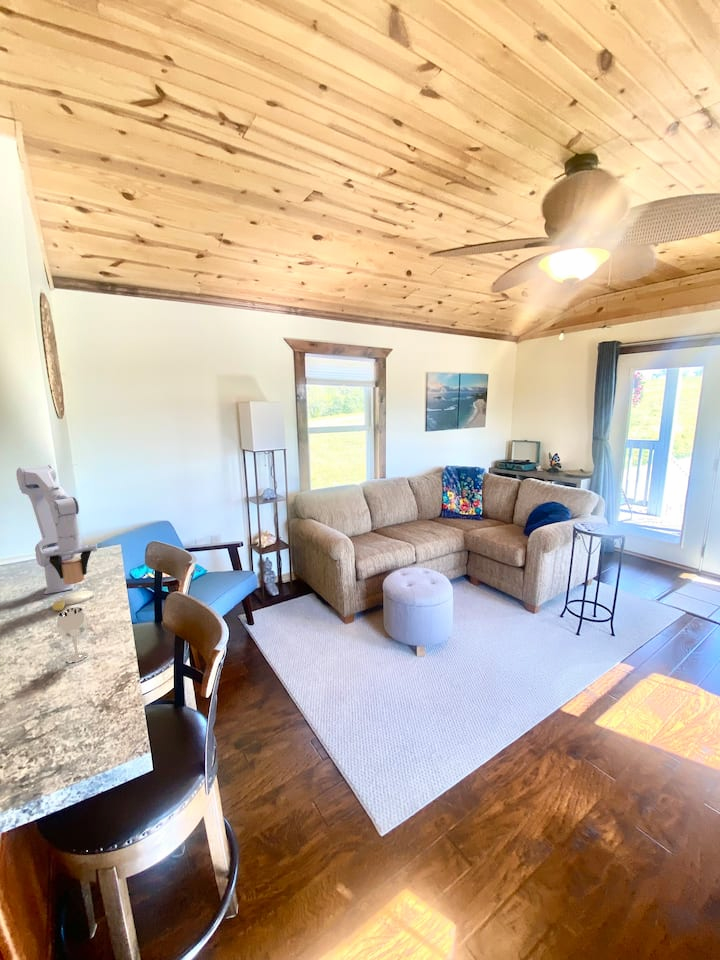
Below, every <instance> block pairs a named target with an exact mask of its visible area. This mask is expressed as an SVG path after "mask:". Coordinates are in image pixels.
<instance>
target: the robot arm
mask: <svg viewBox="0 0 720 960" xmlns="http://www.w3.org/2000/svg"><path fill="white" fill-rule="evenodd" d="M56 475H57V474H56V469H55V468H54V466H52V465H51V464H48V465H41V466H40V465H39V466H28V467H27V466H26V467H18V468H17V469H16V480H17V483H18V486H19V490H20V491H21V493H22V494H24V495H25V496H28V498H29V500H30V502H31V506H32V508H33V512H34V514H35V515H34V516H35V519H36V522H37V525H38V529H39V533H40V535H41V537H42V538H41V540H40V541H39V542H37V544H36V545H35V548H34V550H35V551H34V552H35V558H36V563H37V564H38V566H40V567H42V568H43V570H44V575H45V582H46V589H45V591H44V592H43V594H44V595H47V594H55V593H59V592H64V591H70V590H73V589H74V587H75V585H76V583H75V584H64V581H63V575H62V568H61V563H62V562H64V561H67V560H71V559H75V555H77V554H80V555H79V556H80V559H81V561H82V568H83V575H84V576H85V575H87V569H88V564H89V563H88V562H89V559H90V557H91V554H92V552H93V553H95V552H98V543H96V544H83V545H81V540H80V539H81V538H80V533H79V532H80V531H79V527H78V526H79V524H78V516H77V515H78V514H79V512H80V509H79V508H80V506H79V502H78V500H77V498H76V497H75V496H70V495H68V493H67V492H66V490H65V489H64V488H63V487H62V486H60V485H57V484H56V480H57V476H56Z"/></svg>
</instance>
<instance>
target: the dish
mask: <svg viewBox="0 0 720 960" xmlns="http://www.w3.org/2000/svg"><path fill="white" fill-rule="evenodd" d="M93 597H94V593H93V591H91V590H80V591H75V592H71V593H68V594H65V595H63V596H62V597H60V598H59V601H63V602H64V604H65V606H68V605H69V606H70V605H76V604H80V603H84V602H86V601H88V600H90V599H91V598H93Z"/></svg>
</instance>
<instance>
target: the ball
mask: <svg viewBox="0 0 720 960" xmlns="http://www.w3.org/2000/svg"><path fill="white" fill-rule="evenodd" d="M65 606H66V605H65V604H64V602H63V601H60V600H57V601H54V603H53V604H52V609H53V611H54V612H55V611H56V612H61V611H63V609H64V608H65Z"/></svg>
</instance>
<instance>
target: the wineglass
mask: <svg viewBox="0 0 720 960" xmlns="http://www.w3.org/2000/svg"><path fill="white" fill-rule="evenodd" d="M56 624H57V631H58V632H57V633H58V634H59V635H60V636H61V638H64V639H71V642H72V644H73V647H74V654H72V655H70V656H71V657H70V656H69V657H70V658H69V659H68V660H70V661H77V660H79V659H82V658H84V657H86V656H87V657H88V656H89V653H88V652H86V651H83V652H78V648H77V646H78V645H77V643H78V638H77V637H78V636H80V635H83V634H84V632H86V629H87V627H88V621H87V617H86V613H85V612H84V610H83V608H82V607H79V606H78V607H72V608H68V609H64V610H61V611H59V613H58V616H57V623H56ZM85 652H86V653H85ZM87 654H88V655H87ZM87 657H86V658H87Z"/></svg>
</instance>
